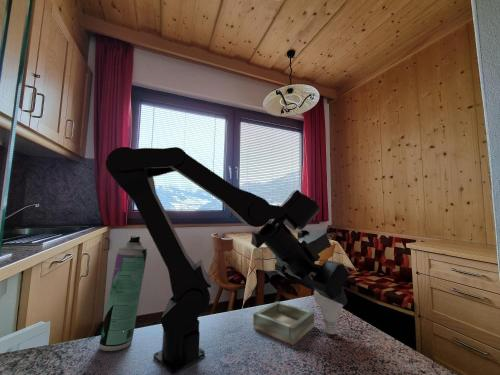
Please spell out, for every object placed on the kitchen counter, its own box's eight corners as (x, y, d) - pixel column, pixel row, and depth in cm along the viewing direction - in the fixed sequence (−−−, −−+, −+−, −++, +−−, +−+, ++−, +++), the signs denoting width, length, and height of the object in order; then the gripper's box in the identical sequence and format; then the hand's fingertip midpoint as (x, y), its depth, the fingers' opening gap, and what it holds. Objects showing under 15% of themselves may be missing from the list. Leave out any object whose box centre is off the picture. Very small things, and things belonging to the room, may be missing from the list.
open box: (253, 328, 49) (253, 313, 49) (277, 313, 57) (277, 301, 57) (293, 345, 43) (293, 328, 43) (314, 326, 50) (314, 312, 51)
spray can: (132, 336, 45) (149, 236, 50) (130, 348, 40) (149, 237, 45) (101, 339, 43) (122, 235, 48) (95, 352, 38) (119, 235, 43)
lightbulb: (328, 344, 43) (327, 286, 44) (309, 329, 49) (308, 277, 50) (353, 338, 45) (351, 283, 47) (331, 324, 51) (330, 275, 53)
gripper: (339, 219, 40) (385, 276, 42) (284, 218, 57) (320, 259, 60) (304, 267, 36) (358, 328, 38) (256, 250, 53) (296, 293, 56)
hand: (329, 295), depth 48 cm, fingers open, 9 cm apart
